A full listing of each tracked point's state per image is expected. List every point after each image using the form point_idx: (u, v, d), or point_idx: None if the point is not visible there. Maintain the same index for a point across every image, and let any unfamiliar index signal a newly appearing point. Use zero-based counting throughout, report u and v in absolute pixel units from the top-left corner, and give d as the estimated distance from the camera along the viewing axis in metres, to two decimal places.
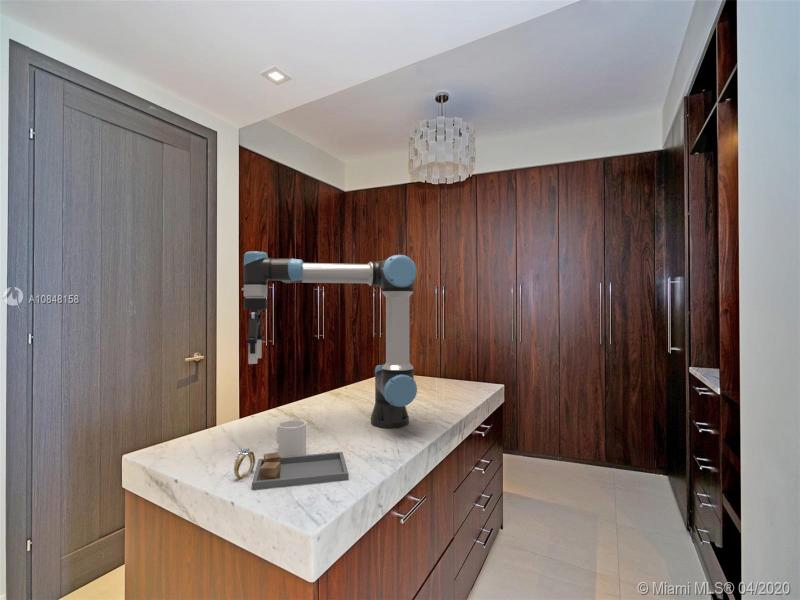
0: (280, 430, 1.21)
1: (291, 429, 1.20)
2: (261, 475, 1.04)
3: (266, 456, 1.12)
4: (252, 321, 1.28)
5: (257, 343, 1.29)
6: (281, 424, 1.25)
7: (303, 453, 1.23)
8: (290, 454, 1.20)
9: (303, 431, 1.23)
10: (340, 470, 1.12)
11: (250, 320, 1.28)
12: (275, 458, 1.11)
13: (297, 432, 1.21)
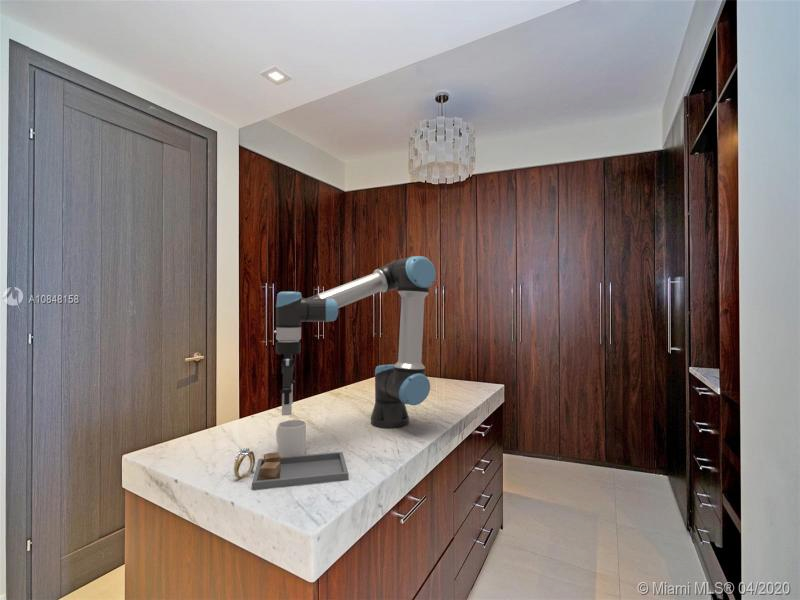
0: (280, 430, 1.21)
1: (291, 429, 1.20)
2: (261, 475, 1.04)
3: (266, 456, 1.12)
4: (286, 369, 1.18)
5: (291, 392, 1.19)
6: (281, 424, 1.25)
7: (303, 453, 1.23)
8: (290, 454, 1.20)
9: (303, 431, 1.23)
10: (340, 470, 1.12)
11: (284, 368, 1.18)
12: (275, 458, 1.11)
13: (297, 432, 1.21)
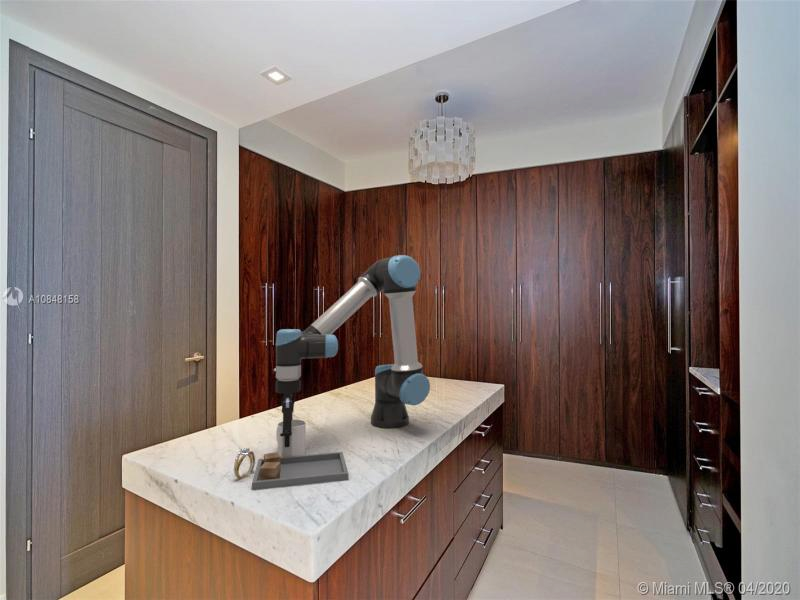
0: (280, 430, 1.21)
1: None
2: (261, 475, 1.04)
3: (266, 456, 1.12)
4: (286, 411, 1.18)
5: (291, 434, 1.20)
6: (281, 424, 1.26)
7: (303, 453, 1.23)
8: None
9: (303, 431, 1.23)
10: (340, 470, 1.12)
11: (284, 410, 1.18)
12: (275, 458, 1.11)
13: (297, 432, 1.21)
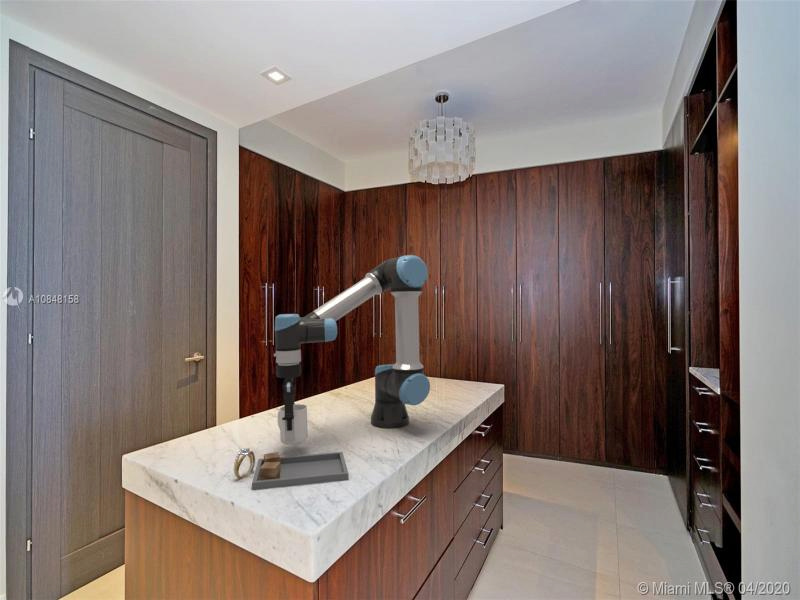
0: (282, 414, 1.22)
1: None
2: (261, 475, 1.04)
3: (266, 456, 1.12)
4: (288, 395, 1.19)
5: None
6: (282, 409, 1.26)
7: (305, 436, 1.24)
8: None
9: (304, 414, 1.24)
10: (340, 470, 1.12)
11: (286, 394, 1.19)
12: (275, 458, 1.11)
13: (299, 415, 1.22)
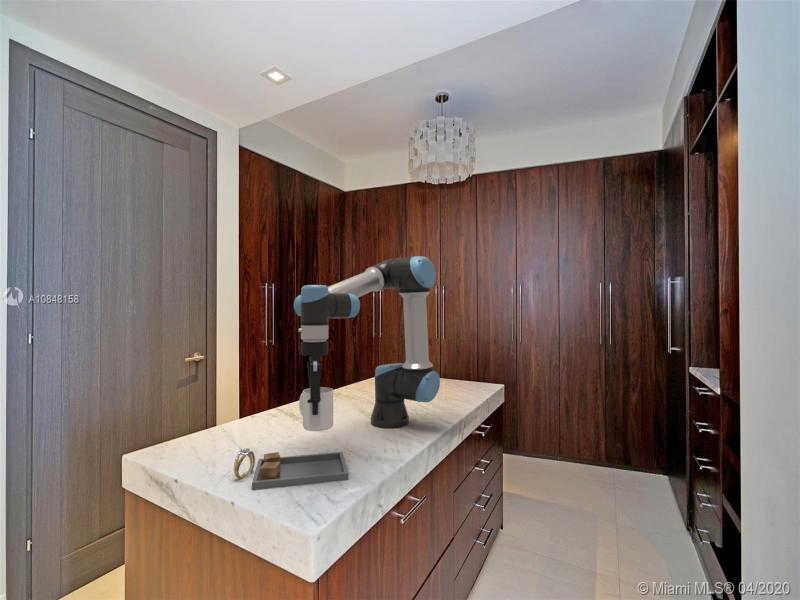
0: (306, 396, 1.08)
1: None
2: (261, 475, 1.04)
3: (266, 456, 1.12)
4: (314, 375, 1.05)
5: None
6: (305, 391, 1.13)
7: (331, 422, 1.10)
8: None
9: (331, 398, 1.10)
10: (340, 470, 1.12)
11: (312, 373, 1.05)
12: (275, 458, 1.11)
13: (325, 398, 1.08)
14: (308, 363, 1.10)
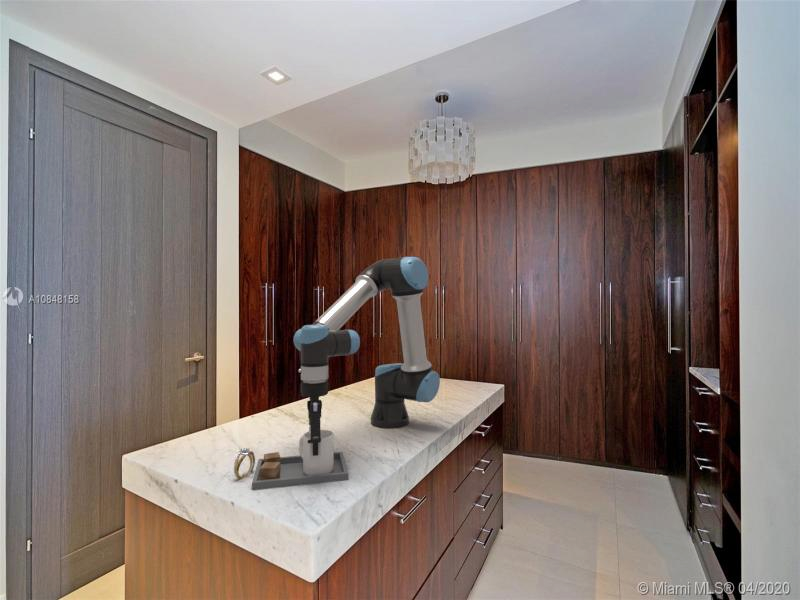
0: (306, 442, 1.08)
1: None
2: (261, 475, 1.04)
3: (266, 456, 1.12)
4: (315, 415, 1.05)
5: (320, 441, 1.06)
6: (306, 435, 1.12)
7: (331, 467, 1.10)
8: (318, 468, 1.07)
9: (331, 442, 1.10)
10: (340, 470, 1.12)
11: (312, 414, 1.05)
12: (275, 458, 1.11)
13: (325, 444, 1.08)
14: (308, 404, 1.10)
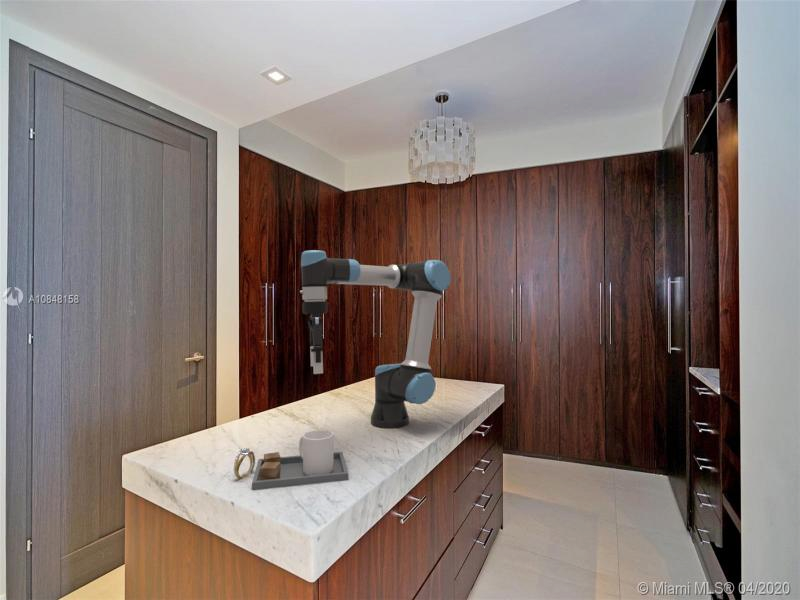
0: (306, 442, 1.08)
1: (319, 441, 1.07)
2: (261, 475, 1.04)
3: (266, 456, 1.12)
4: (316, 327, 1.17)
5: (322, 351, 1.18)
6: (306, 435, 1.12)
7: (331, 467, 1.10)
8: (318, 468, 1.07)
9: (331, 443, 1.10)
10: (340, 470, 1.12)
11: (314, 326, 1.17)
12: (275, 458, 1.11)
13: (325, 444, 1.08)
14: (310, 320, 1.22)
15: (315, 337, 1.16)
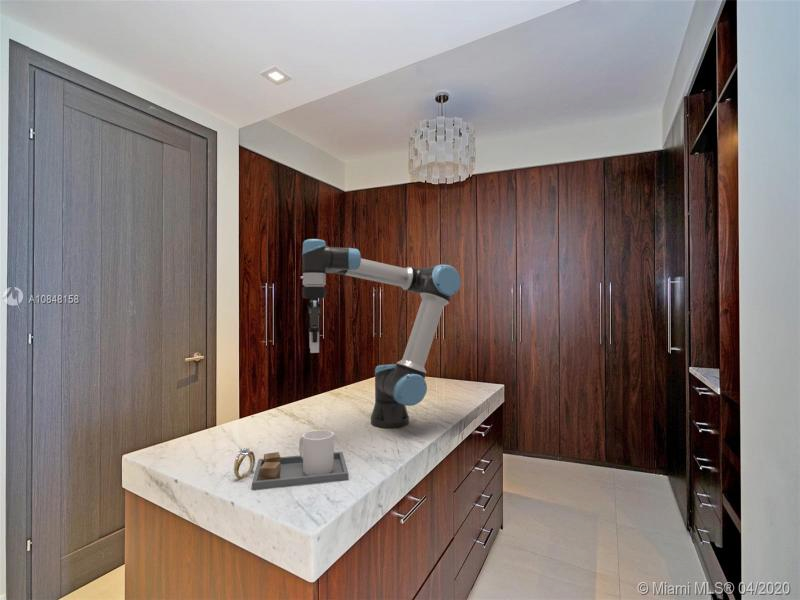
0: (306, 442, 1.08)
1: (319, 441, 1.07)
2: (261, 475, 1.04)
3: (266, 456, 1.12)
4: (314, 309, 1.26)
5: None
6: (306, 435, 1.12)
7: (331, 467, 1.10)
8: (318, 468, 1.07)
9: (331, 443, 1.10)
10: (340, 470, 1.12)
11: (312, 308, 1.26)
12: (275, 458, 1.11)
13: (325, 444, 1.08)
14: (309, 304, 1.32)
15: (312, 318, 1.25)
